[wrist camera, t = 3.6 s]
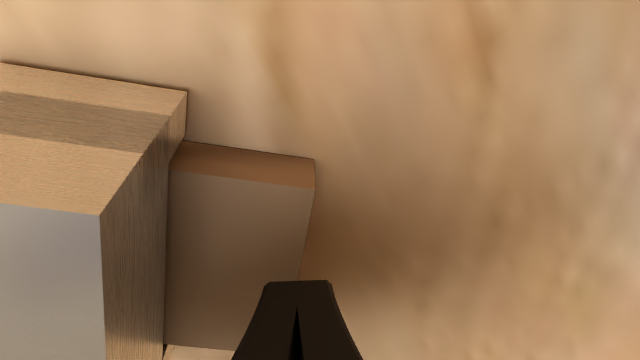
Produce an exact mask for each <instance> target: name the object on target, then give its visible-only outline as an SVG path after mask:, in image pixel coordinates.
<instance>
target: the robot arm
mask: <svg viewBox="0 0 640 360" xmlns="http://www.w3.org/2000/svg"><path fill="white" fill-rule="evenodd" d="M231 360H363V358H362V357H361V355H360V353H359V351H358V349H357V347H356V345H355V343H354V341H353V339H352V337H351V335H350V333H349V331H348V329H347V326H346V324H345V322H344V319H343V317H342V315H341V312H340V310H339V307H338V305H337V302H336V299H335V296H334V292H333V288H332V284H331V283H329V282H328V281H327V280H310V281H277V282H268V283H267V284H266V285H265V286H264V288H263V291H262V294H261V297H260V300H259V302H258V305H257V308H256V310H255V312H254V315H253V317H252V319H251V321H250V323H249V326H248V328H247V330H246V332H245V334H244V336H243V338H242V340H241V342H240V344H239V345H238V347H237V349H236V351H235V353H234V355H233V357H232V359H231Z"/></svg>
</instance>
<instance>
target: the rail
mask: <svg viewBox="0 0 640 360" xmlns="http://www.w3.org/2000/svg"><path fill="white" fill-rule="evenodd" d="M314 195H315V172H314V159H307V158H300V157H293V156H286V155H279V154H272V153H265V152H258V151H251V150H244V149H238V148H231V147H224V146H217V145H210V144H203V143H196V142H189V141H182V140H181V142H180V144H179V146H178V147H177V149H176V151H175V153H174V154H173V156H172V158H171V160H170V161H169V163H168V193H167V225H166V257H165V289H164V322H163V344H169V345H179V346H190V347H200V348H210V349H221V350H231V351H236V349H237V347H238V345H239V344H240V342H241V340H242V338H243V336H244V334H245V332H246V330H247V328H248V326H249V323H250V321H251V319H252V317H253V315H254V312H255V310H256V308H257V305H258V302H259V300H260V297H261V294H262V291H263V288H264V286H265V285H266V284H267V283H268V282H277V281H298V277H299V271H300V266H301V261H302V256H303V251H304V246H305V241H306V236H307V230H308V225H309V220H310V215H311V210H312V205H313V200H314Z"/></svg>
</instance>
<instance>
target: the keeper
mask: <svg viewBox="0 0 640 360" xmlns="http://www.w3.org/2000/svg"><path fill="white" fill-rule="evenodd" d="M186 102H187V92H185V91H179V90H172V89H166V88H160V87H153V86H147V85H140V84H134V83H128V82H121V81H115V80H108V79H102V78H95V77H89V76H83V75H76V74H70V73H63V72H57V71H51V70H44V69H38V68H31V67H25V66H18V65H12V64H6V63H0V360H170V359H171V356H172V352H173V349H174V346H175V345H169V344H163V322H164V289H165V257H166V225H167V193H168V163H169V161H170V160H171V158H172V156H173V154H174V153H175V151H176V149H177V147H178V146H179V144H180V142H181V140H182V139H183V137H184V135H185V123H186Z"/></svg>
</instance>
